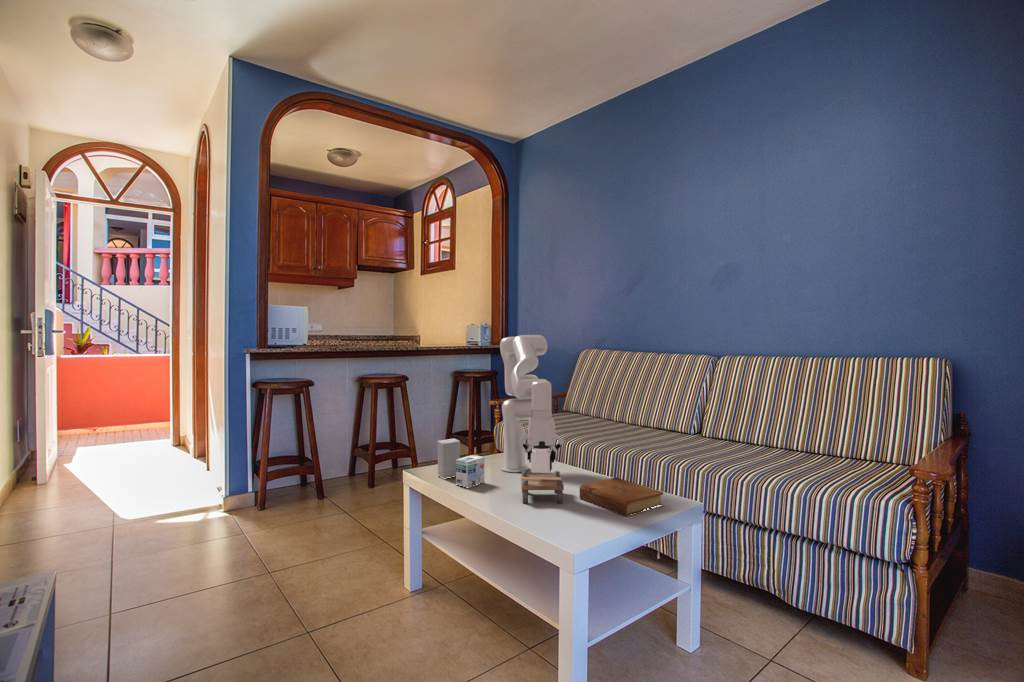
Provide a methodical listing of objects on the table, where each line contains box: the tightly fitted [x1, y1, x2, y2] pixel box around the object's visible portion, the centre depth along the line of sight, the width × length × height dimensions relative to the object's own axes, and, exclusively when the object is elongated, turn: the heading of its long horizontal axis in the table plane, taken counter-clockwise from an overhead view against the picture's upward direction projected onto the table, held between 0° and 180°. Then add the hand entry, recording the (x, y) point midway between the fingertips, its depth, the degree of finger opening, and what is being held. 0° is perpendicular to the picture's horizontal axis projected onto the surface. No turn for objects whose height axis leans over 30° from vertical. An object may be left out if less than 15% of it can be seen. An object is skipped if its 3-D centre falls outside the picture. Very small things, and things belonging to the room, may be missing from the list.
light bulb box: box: [455, 454, 485, 488], centre depth 214 cm, size 11×7×11 cm, turn 143°
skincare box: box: [437, 438, 461, 478], centre depth 225 cm, size 8×7×16 cm
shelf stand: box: [520, 470, 565, 505], centre depth 196 cm, size 15×15×8 cm
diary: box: [579, 477, 664, 517], centre depth 190 cm, size 23×19×6 cm
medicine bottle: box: [530, 441, 553, 474], centre depth 195 cm, size 7×7×12 cm
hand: (541, 461), depth 195 cm, fingers closed on medicine bottle, 7 cm apart
